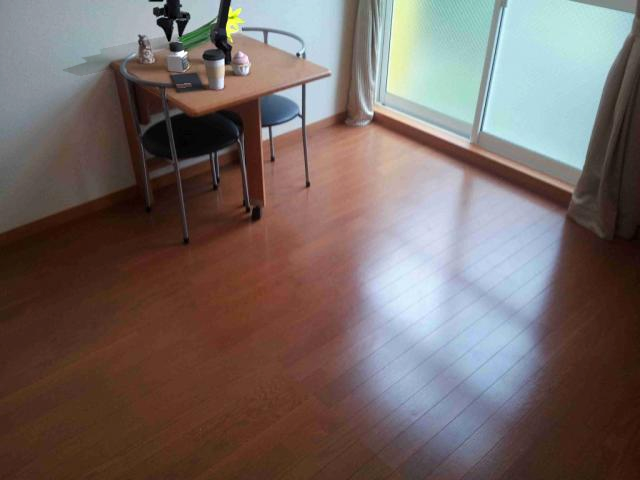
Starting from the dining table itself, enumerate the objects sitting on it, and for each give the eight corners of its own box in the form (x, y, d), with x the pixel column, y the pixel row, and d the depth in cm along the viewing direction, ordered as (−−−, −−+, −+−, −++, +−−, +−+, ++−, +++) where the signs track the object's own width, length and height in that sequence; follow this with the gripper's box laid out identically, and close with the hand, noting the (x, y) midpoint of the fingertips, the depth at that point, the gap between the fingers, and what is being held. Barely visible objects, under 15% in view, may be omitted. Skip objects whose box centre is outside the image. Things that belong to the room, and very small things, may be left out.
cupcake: (248, 68, 261) (247, 46, 255) (253, 76, 254) (252, 53, 248) (228, 71, 258) (226, 48, 252) (233, 78, 251) (231, 55, 245)
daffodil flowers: (175, 44, 289) (236, 17, 297) (189, 66, 286) (250, 38, 294) (170, 22, 273) (234, -6, 281) (184, 45, 270) (249, 16, 278)
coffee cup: (228, 83, 246) (226, 48, 237) (226, 91, 239) (223, 56, 230) (206, 83, 246) (203, 48, 237) (203, 91, 238) (200, 55, 229)
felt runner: (196, 73, 255) (196, 72, 255) (204, 89, 240) (204, 88, 240) (171, 75, 252) (171, 74, 252) (178, 92, 237) (178, 91, 237)
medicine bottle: (183, 72, 255) (180, 45, 248) (168, 71, 256) (164, 44, 249) (189, 67, 261) (186, 40, 254) (174, 66, 262) (171, 39, 255)
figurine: (146, 64, 262) (142, 38, 255) (135, 61, 265) (131, 35, 258) (158, 60, 267) (154, 34, 260) (147, 57, 270) (143, 31, 263)
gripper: (167, -5, 251) (169, 31, 260) (143, 2, 236) (146, 40, 245) (190, -1, 249) (191, 35, 257) (167, 6, 234) (169, 45, 242)
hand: (174, 39), depth 250 cm, fingers open, 9 cm apart
